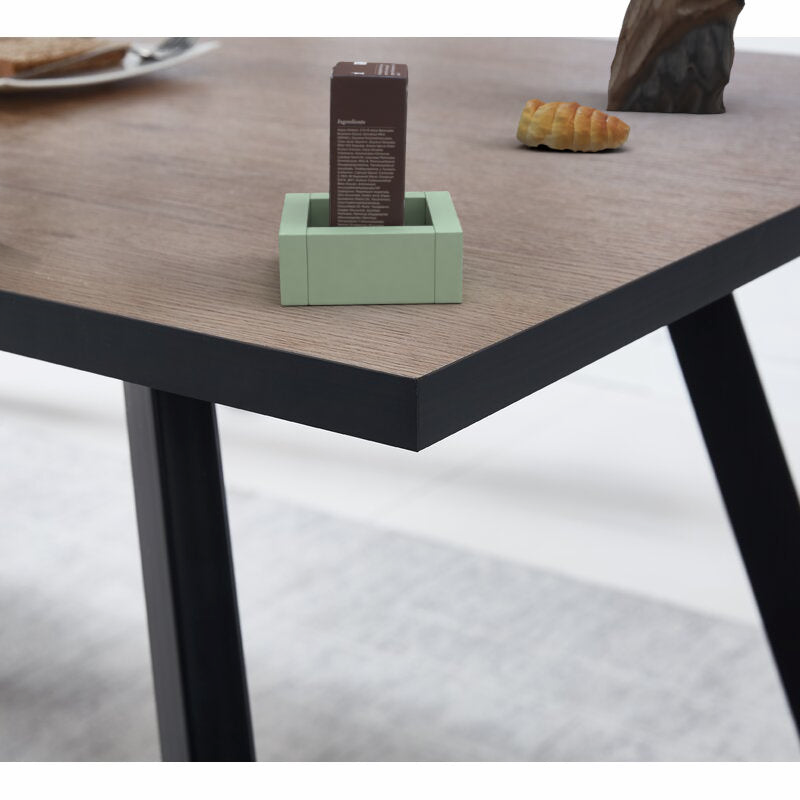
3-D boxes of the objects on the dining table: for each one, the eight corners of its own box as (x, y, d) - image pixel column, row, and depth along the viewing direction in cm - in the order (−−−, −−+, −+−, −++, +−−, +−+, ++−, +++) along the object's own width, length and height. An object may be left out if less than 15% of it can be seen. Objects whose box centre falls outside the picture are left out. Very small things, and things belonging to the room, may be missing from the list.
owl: (638, 92, 141) (651, -106, 134) (755, 100, 136) (775, -105, 129) (600, 110, 131) (611, -104, 124) (725, 119, 126) (745, -104, 118)
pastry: (635, 143, 114) (638, 99, 113) (618, 158, 109) (620, 111, 107) (532, 136, 118) (534, 93, 116) (510, 150, 112) (511, 105, 110)
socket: (280, 306, 71) (278, 234, 70) (287, 257, 80) (285, 193, 79) (462, 303, 71) (463, 231, 70) (448, 254, 81) (448, 191, 79)
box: (407, 294, 73) (407, 74, 69) (327, 294, 73) (322, 74, 69) (408, 264, 79) (408, 60, 74) (334, 264, 79) (329, 60, 74)
